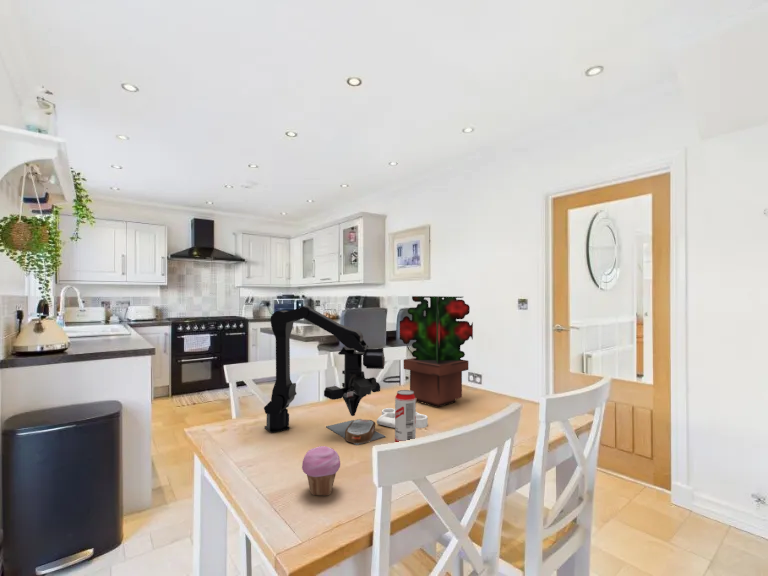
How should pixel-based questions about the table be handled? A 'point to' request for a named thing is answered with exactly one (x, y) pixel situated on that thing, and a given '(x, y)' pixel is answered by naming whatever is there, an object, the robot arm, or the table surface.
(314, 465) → the cupcake
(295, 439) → the table surface
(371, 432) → the tin
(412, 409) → the beer can
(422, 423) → the white fidget spinner
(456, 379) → the potted plant
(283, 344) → the robot arm
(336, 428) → the mat
